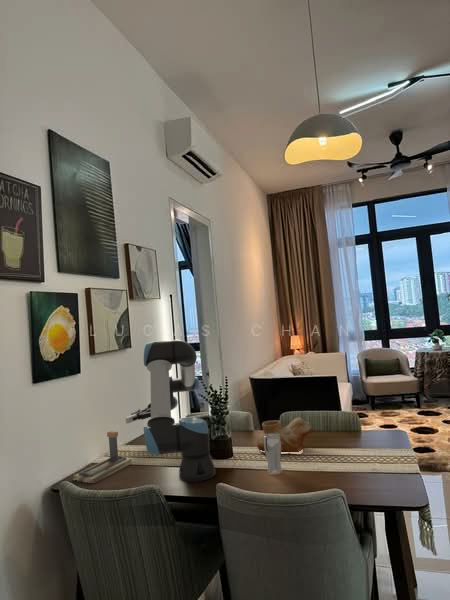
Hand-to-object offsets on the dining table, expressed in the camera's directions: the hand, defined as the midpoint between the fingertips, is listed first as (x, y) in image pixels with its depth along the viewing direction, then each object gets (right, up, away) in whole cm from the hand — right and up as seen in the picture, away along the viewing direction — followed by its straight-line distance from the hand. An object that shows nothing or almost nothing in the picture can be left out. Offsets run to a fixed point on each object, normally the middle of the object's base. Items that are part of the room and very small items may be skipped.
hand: (126, 420), depth 205 cm
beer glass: (+68, -12, -32) cm, 76 cm away
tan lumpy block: (+76, -12, -7) cm, 78 cm away
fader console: (-7, -18, -16) cm, 25 cm away
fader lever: (-4, -16, -10) cm, 19 cm away
